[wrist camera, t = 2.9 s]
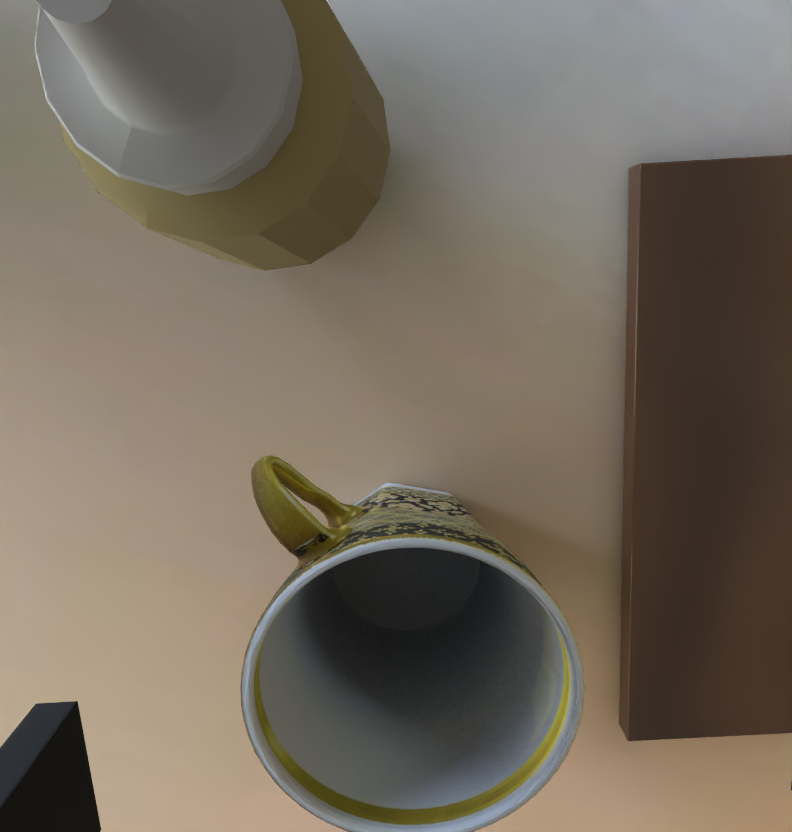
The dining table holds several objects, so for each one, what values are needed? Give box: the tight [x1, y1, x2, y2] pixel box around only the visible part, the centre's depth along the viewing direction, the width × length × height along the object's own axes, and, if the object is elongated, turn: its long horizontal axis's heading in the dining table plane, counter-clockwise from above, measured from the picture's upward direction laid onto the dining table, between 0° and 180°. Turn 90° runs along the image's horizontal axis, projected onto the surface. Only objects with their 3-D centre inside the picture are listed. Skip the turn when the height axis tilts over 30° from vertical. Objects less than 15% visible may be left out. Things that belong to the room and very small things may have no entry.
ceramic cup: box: [241, 456, 584, 832], centre depth 25 cm, size 13×10×10 cm
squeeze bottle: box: [34, 0, 390, 270], centre depth 18 cm, size 8×8×18 cm
